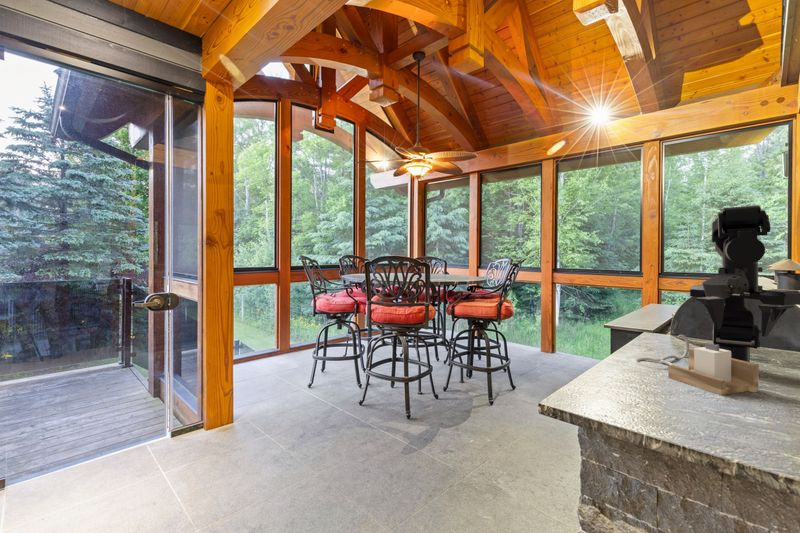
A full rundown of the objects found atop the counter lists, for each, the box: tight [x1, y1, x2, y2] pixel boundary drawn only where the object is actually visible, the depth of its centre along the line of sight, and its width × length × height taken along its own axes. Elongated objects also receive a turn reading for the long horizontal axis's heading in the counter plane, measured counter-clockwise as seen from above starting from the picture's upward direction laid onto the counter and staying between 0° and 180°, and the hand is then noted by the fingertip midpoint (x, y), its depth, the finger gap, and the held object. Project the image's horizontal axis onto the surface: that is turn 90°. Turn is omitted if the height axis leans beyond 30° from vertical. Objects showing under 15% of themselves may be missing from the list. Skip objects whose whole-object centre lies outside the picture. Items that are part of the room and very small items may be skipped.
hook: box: [634, 334, 690, 371], centre depth 105 cm, size 7×9×20 cm
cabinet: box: [693, 342, 731, 383], centre depth 86 cm, size 5×4×8 cm
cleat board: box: [667, 348, 760, 396], centre depth 87 cm, size 9×14×6 cm, turn 14°
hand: (740, 332), depth 83 cm, fingers open, 9 cm apart
